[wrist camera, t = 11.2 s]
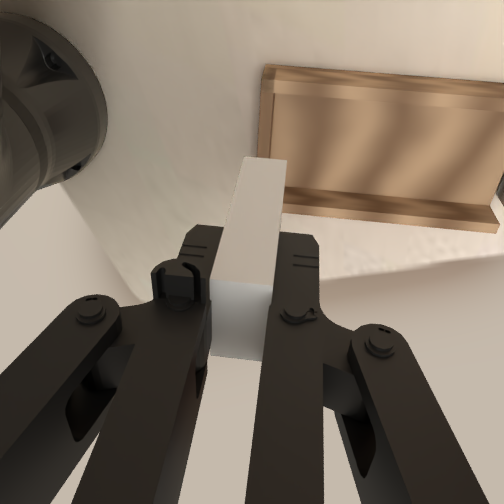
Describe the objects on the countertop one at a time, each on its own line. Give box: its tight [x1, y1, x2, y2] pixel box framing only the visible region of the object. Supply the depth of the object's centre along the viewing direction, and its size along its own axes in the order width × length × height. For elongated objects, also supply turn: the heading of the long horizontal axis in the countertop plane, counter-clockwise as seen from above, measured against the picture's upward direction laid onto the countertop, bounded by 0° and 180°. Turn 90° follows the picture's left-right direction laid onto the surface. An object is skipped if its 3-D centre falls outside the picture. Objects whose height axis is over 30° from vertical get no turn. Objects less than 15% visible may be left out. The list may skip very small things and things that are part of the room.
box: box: [257, 64, 504, 234], centre depth 41 cm, size 22×12×4 cm, turn 87°
